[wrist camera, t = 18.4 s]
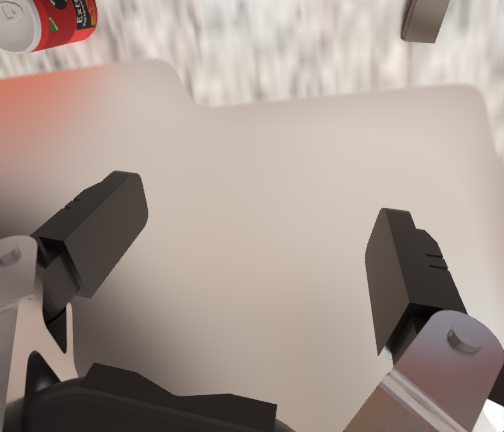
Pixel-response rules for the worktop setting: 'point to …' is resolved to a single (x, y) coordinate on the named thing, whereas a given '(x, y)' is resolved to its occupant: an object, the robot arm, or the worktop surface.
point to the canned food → (44, 23)
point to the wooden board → (424, 20)
